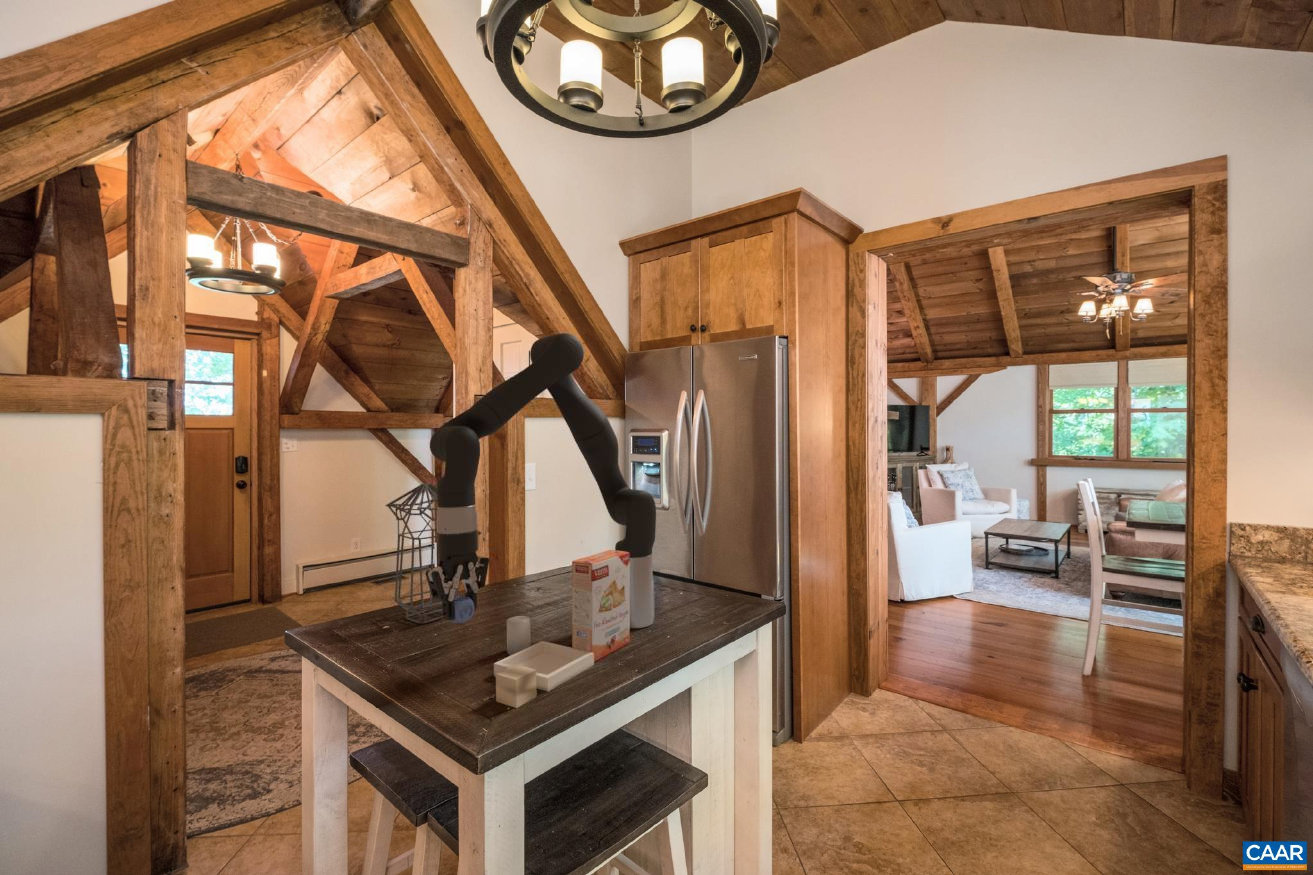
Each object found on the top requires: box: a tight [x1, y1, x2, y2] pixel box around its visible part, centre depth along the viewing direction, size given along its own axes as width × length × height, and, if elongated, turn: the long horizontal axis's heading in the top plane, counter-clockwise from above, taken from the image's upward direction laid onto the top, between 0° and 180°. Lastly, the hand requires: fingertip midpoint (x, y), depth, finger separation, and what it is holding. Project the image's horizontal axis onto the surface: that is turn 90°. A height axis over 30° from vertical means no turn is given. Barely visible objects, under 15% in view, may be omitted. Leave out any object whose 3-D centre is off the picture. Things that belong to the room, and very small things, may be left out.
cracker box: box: [571, 549, 631, 663], centre depth 127 cm, size 14×6×21 cm, turn 148°
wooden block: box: [495, 664, 537, 709], centre depth 105 cm, size 5×5×5 cm
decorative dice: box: [448, 596, 476, 624], centre depth 114 cm, size 4×4×4 cm
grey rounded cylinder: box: [506, 615, 532, 656], centre depth 128 cm, size 5×5×7 cm
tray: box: [493, 640, 595, 692], centre depth 118 cm, size 14×14×2 cm
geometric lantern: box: [385, 482, 460, 625], centre depth 153 cm, size 16×16×35 cm
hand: (460, 615), depth 114 cm, fingers closed on decorative dice, 4 cm apart
